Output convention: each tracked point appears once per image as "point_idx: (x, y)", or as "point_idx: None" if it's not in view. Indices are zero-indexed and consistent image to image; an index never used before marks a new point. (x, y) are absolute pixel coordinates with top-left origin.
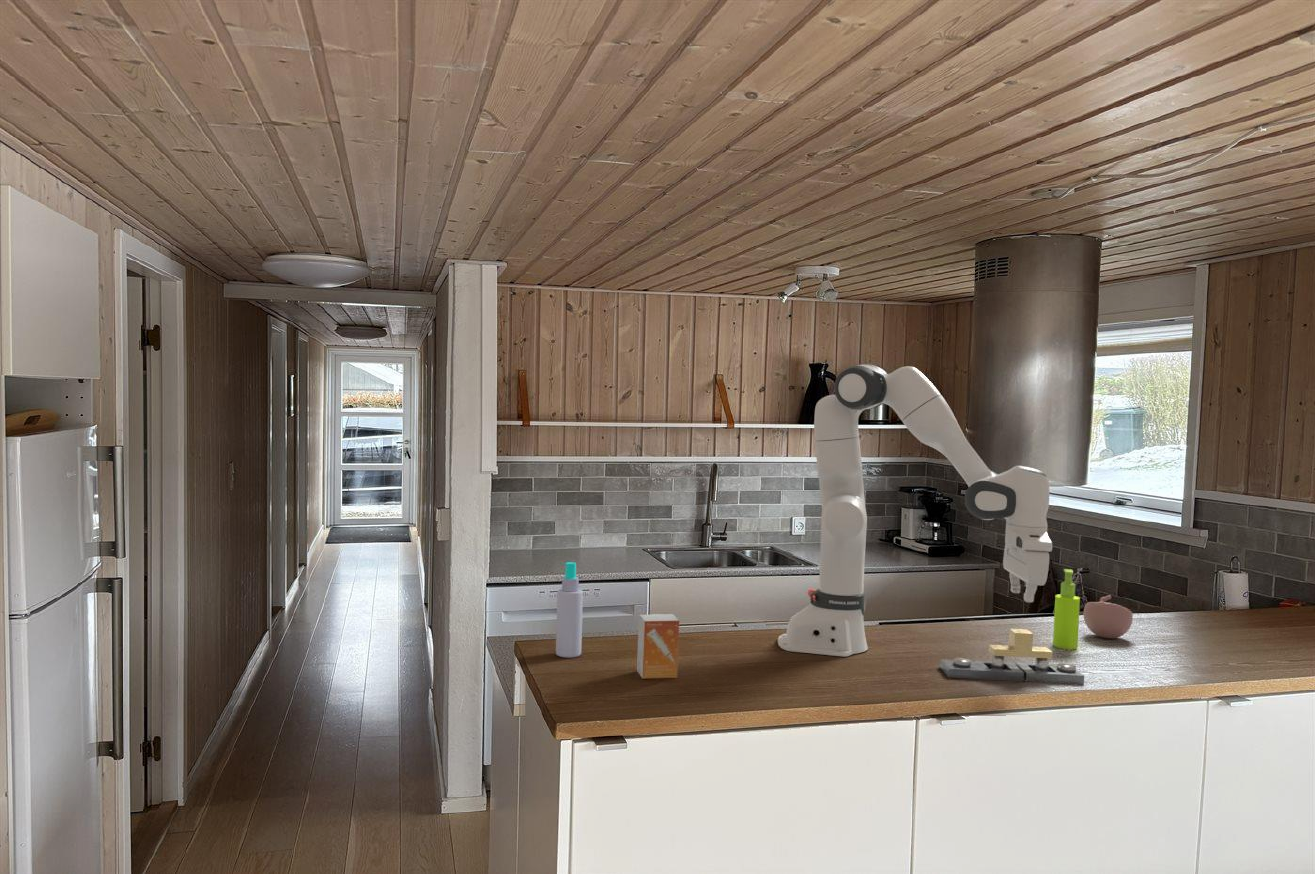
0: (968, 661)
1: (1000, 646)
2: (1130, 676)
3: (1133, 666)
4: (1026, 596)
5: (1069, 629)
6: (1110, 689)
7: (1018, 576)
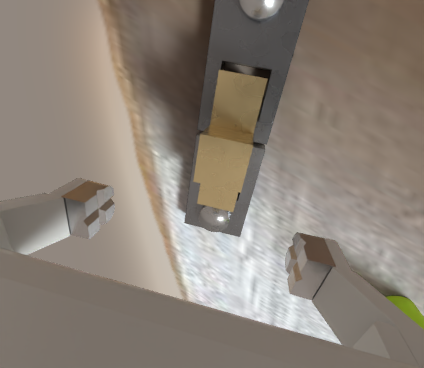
0: (251, 6)
1: (245, 104)
2: (224, 290)
3: (267, 319)
4: (62, 190)
5: None
6: (167, 234)
7: (41, 270)
